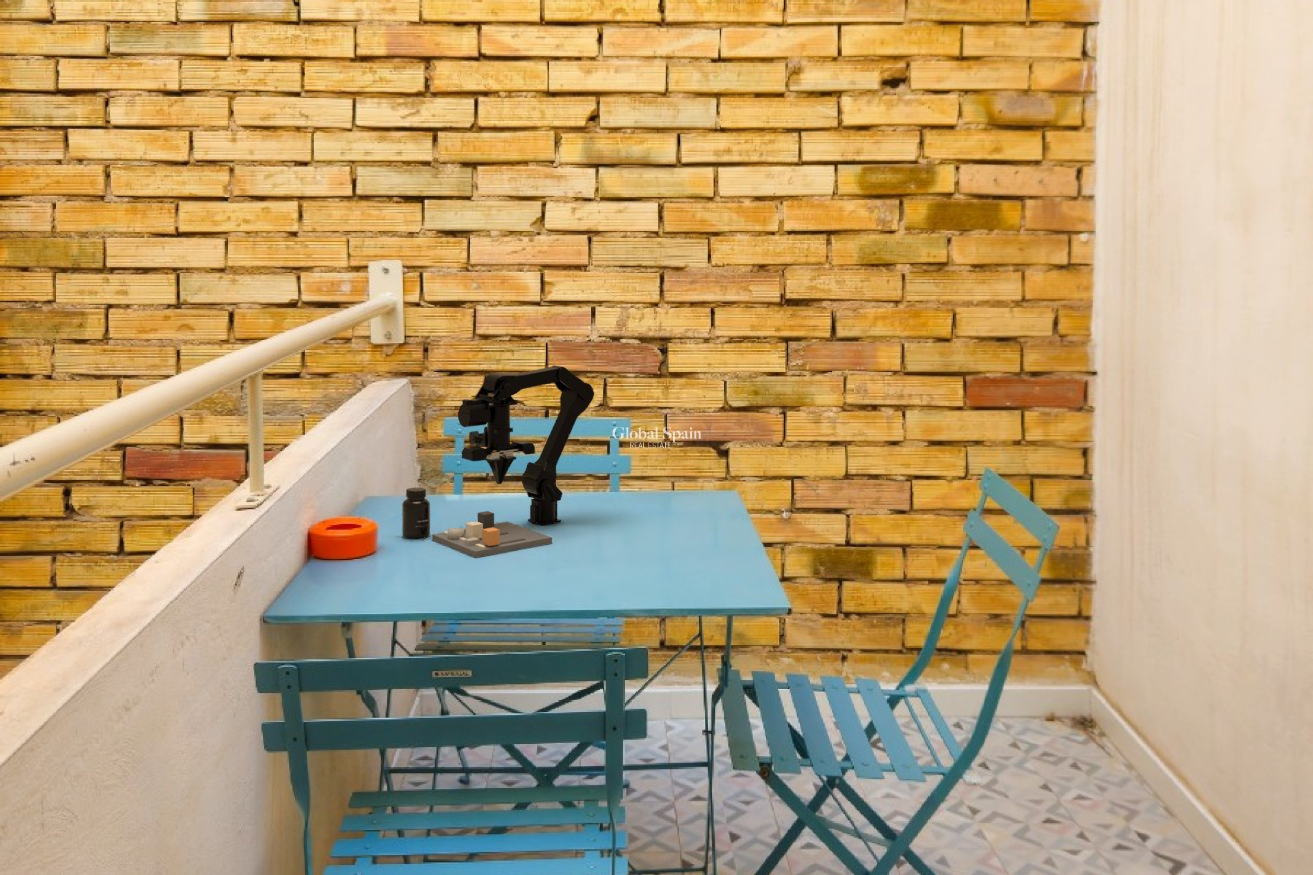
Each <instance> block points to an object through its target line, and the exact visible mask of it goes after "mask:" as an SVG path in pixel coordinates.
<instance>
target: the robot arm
mask: <svg viewBox="0 0 1313 875" xmlns="http://www.w3.org/2000/svg"><path fill="white" fill-rule="evenodd" d="M482 383H483V384H482V385H481V387H480V389H479V390H478V392H477V393H476V395H475V397H474V399H473V398H472V399H468V398H467V399H466V398H465V399H462V404H461V405H460V406H459V409H458V411H457V418H458V422H459V424H460V425H461V427H463V428H470V427H479V426H484V427H483V432H481V433H479V431H478V430H476V431H475V430H473V431H470V432H469V433H468V434H469V435H468V441H469V444H470V445H473V446H465V447H463V449H462V451H461V459H464V460H467V461H470V462H479V461H480V462H482V461H486V462H487V464H488V466H489V467H490V470H491V472H492V475H493V478H494V480H495V484H497V485H502V484H503V481H504V479H505V478H506V476H507V472H508V471H509V469H510V467H511V466H512V464H513V462H514V461H515V460H517V457H516V456H514V453H519V452H522V453H523V454H524V455H526V456H527V455H534V454H535V453H536V446H535V444H534V443H533V442H531V441H527V440H523V439H522V440H513V441H511V433H513V432H514V428H513V427H511V406H516V405H518V404H519V403H518V401H517V400H515V398H514V397H513V396H514V395H516V394H518V393H519V392H520V391H522V390H526V389H529V388H535V387H540V386H545V385H550V384H554V385H555V387H556V388H557V390H558V391H559V392H561V393H560V397H559V402H560V403H559V405H560V411H559V412H558V414H557V417H556V419H555V421H554V424H553V426H552V428H551V430H550V433H549V434H548V437H547V439H546V442H545V444H544V446H543V448H542V451H541V453H540V455H539V458H538V459H536V461H535V462H531V461H528V463H527V464H526V467H525V469H524V472H523V473H522V474H521V476H522V477H523V478H522V480H521V485H522V487H523V489H524V491H526V495H527V497H528V498H530V499H531V500H530V505H529V518H527V521H528V522H530V523H534V524H537V525H540V526H545V525H551V524H555V523H561V522H562V520H561V519H559V518H558V501H559V502H560V501H562V500H561V499H562V497H563V495H564V494H563V491H562V490H561V489H560V488H559V487H557V485H556V482H557V479H558V478H557V477H558V476H557V465H558V463H559V460H560V458H561V456H562V453H563V451H564V449H565V446H566V444H567V443H568V439H569V437H570V435H571V434H572V431H573V429H574V426H575V424H576V422H577V419H578V418H579V416H580V415H581V414H583V413H584V412H585V411H586V410H587V409H588V408H589V406H590V405H591V403H592V401H593V400H594V398H595V397H594V396H595V391H594V388H593V386H592V385H591V383H588V382H585V381H583V380H582V379H581V378H579V377H578V376H576V375H575V374H573V373H572V372H571V371H570V370H569V369H567V368H566V367H565V366H562V365H552V366H549V367H544V368H539V369H534V370H528V371H524V372H518V373H506V372H505V373H504V372H490V373H487V375H486V376H485V378H484V380H483V382H482ZM486 425H487V426H486Z"/></svg>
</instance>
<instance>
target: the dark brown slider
mask: <svg viewBox="0 0 1313 875" xmlns="http://www.w3.org/2000/svg"><path fill="white" fill-rule="evenodd" d="M477 522H479V523H482V524H483V528H484V529H485V528H490V527H494V524H495V513H494V512H491V511H489V510H487V511H486V510H485V511H480V512H477Z"/></svg>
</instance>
